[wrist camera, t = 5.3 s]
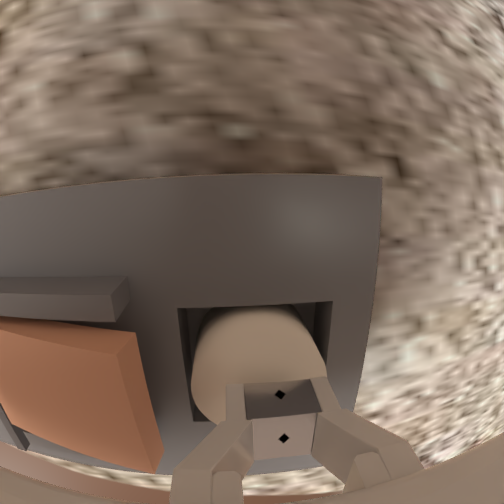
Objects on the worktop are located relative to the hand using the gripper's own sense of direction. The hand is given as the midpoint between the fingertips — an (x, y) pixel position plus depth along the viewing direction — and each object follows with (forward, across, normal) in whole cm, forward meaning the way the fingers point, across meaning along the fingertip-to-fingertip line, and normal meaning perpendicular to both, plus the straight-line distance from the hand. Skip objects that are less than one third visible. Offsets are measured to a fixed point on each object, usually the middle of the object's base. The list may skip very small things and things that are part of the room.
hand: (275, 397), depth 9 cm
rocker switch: (0, +7, 0) cm, 7 cm away
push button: (+4, 0, 0) cm, 4 cm away
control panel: (+6, +7, 0) cm, 9 cm away
